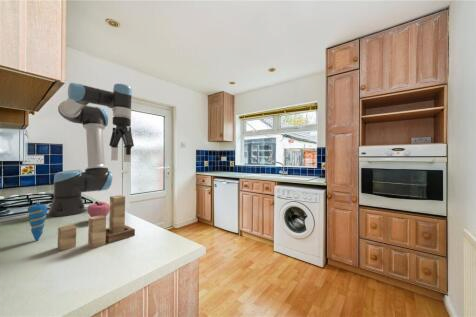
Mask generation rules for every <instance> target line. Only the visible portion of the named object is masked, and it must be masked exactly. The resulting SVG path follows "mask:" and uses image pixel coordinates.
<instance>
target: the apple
mask: <svg viewBox="0 0 476 317" xmlns="http://www.w3.org/2000/svg"><path fill="white" fill-rule="evenodd" d="M87 214H88V215H89V217H94V216H100V215H102V216H105V217H106V218H107V216H108V215H109V214H110V203H107V202H106V201H105V202H103V201H99V202H98V201H95V202H94V203H91V204H89V205H88V207H87Z"/></svg>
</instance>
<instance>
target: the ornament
mask: <svg viewBox="0 0 476 317" xmlns="http://www.w3.org/2000/svg"><path fill="white" fill-rule="evenodd" d="M27 213H28V217H27V218H28V220H29V221H30V222H29V225H30V227H31V230H30V231H31V234H32V236H33V238H34V241H35V242H37V241H39V240H40V237H42V235H43V233H44V228H45V221H46V220H47V214H48V207H47V206H46V204H44V203H41V202H40V201H39V200H37V202H36V203H35V204H32V205H30V206H29V207H28V208H27Z"/></svg>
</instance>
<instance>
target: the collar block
mask: <svg viewBox="0 0 476 317" xmlns="http://www.w3.org/2000/svg"><path fill="white" fill-rule="evenodd" d="M135 232H136V229H135V228H133V227H131V226H129V225H126V224H125V229H124V231H122V232H118V233H114V234H110V233H109V227H108V228H107V227H106V240H105V243H108V244H111V243H114V242H117V241H120V240H124V239H128V238H131V237H134V236H136V235H135V234H136V233H135Z"/></svg>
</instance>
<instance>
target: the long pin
mask: <svg viewBox="0 0 476 317" xmlns="http://www.w3.org/2000/svg"><path fill="white" fill-rule="evenodd" d="M109 207H110V211H109V219H108V220H109V221H108V222H109V224H108V225H109V226H108V228H109V233H110V234H114V233H118V232H122V231H124V229H125V225H126V224H125V221H126V219H125V218H126V195H122V194H121V195H120V194H119V195H111V196H109Z"/></svg>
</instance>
